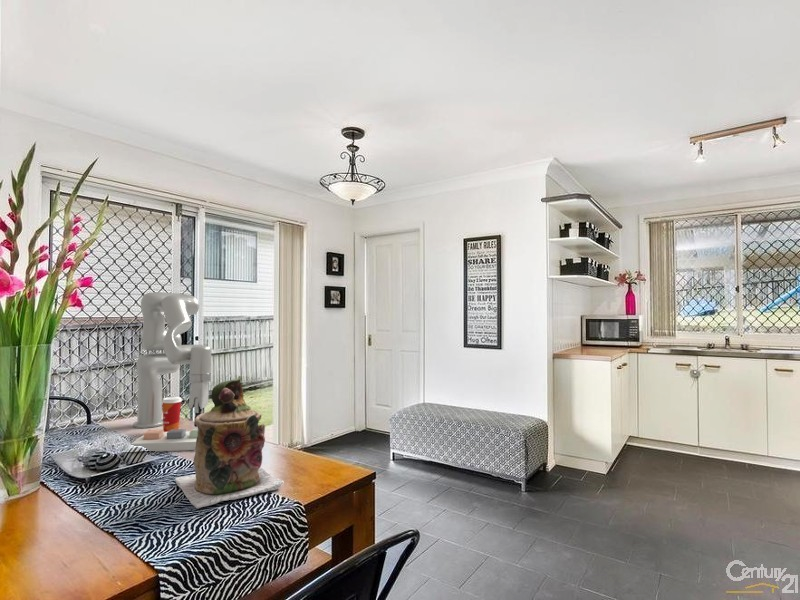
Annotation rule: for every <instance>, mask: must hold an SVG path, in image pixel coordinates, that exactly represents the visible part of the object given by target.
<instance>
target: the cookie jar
mask: <svg viewBox="0 0 800 600" xmlns="http://www.w3.org/2000/svg"><path fill="white" fill-rule="evenodd" d="M242 378H243V376H242V374H240V375H239V376H238V377H237V378H236V379H230V380H225V381H222V382H219V383H218V384H216V385H215V386H214V387H213V388H212V390H211V397H210V398H211V401H212V403H213V405H214V406H213V407H212V408H211V410H209V411H207V412H204V413H203V414H200V415H198V416H197V417H196V418H195V420H194V422H195V424H196V426H197V427H196V428H197V429H198V437H197V440H196V447H195V450H194V451H195V453H194V456H193V466H194V472H195V474H191V475H190V474H189V475H185V476H180V477H175V479H174V480H175V481H174V482H175V483H176V484H177V486H178V487H179V488H180V490H181V491H182V492H183V494H184V496H185V497H186V499H187V500H189V502H190V504H191V505H192V506H193V507H194V508H195V509H198V510H199V509H201V508H203V507H204V508H205V507H209V506H212V505H215V504H218V503H221V502H224V501H229V500H230V501H235V500H237V499H243V498H245V497H246V498H247V497H250V496H255V495H258V494H263V493H266V492H270V491H277V490H278V489H280V488H281V487H282V485H283V484H284V483H285V482H284V480H283V479H281V478H278V477H276V476H273V475H272V474H271V473H270V472H268V471H267V470H266V469H265V468H264V467H262V463H263V452H262V451H263V449H264V446H265V442H266V438H265V432H266V426H265V424H264V423H262V424H259V421H260V420H261V418H262V413H260V412H259V411H257V410H255V409H252V408H251V407H250V406H249V405H247V403H246V402H245V399H244V388H243V384H242Z"/></svg>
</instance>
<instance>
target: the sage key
mask: <svg viewBox="0 0 800 600" xmlns="http://www.w3.org/2000/svg"><path fill="white" fill-rule="evenodd" d="M189 431H190V436H189V438H197V437H198V428H193V429H191V430H189Z"/></svg>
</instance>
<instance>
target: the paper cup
mask: <svg viewBox="0 0 800 600" xmlns="http://www.w3.org/2000/svg"><path fill="white" fill-rule="evenodd" d="M182 402H183V400H182V397H180V396H171V397H170V396H168V397H163V398H162V419H163V425H162V427H163V429H162V430H164V432H169V431H170V430H171V429H180V428H179V427H180V419H181V407H182Z"/></svg>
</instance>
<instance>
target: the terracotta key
mask: <svg viewBox="0 0 800 600" xmlns="http://www.w3.org/2000/svg"><path fill="white" fill-rule="evenodd" d="M143 435H144V440H154V439H160V438H161V437H163V435H164V430H163V429H148V430H147V431H146V432H144V433H143Z"/></svg>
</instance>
